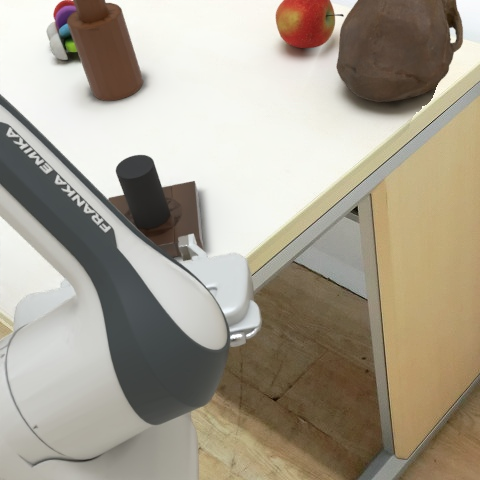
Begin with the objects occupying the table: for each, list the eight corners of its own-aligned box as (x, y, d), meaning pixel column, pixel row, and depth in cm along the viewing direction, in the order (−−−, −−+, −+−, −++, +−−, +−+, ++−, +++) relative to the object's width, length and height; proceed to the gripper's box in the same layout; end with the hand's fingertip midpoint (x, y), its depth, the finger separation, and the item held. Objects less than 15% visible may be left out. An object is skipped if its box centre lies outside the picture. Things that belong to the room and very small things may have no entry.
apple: (288, 23, 117) (351, 9, 114) (285, 65, 113) (351, 51, 110) (268, -16, 110) (335, -32, 107) (264, 27, 106) (334, 11, 103)
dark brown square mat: (111, 269, 82) (105, 256, 81) (113, 210, 90) (108, 197, 88) (203, 251, 83) (199, 237, 82) (198, 193, 90) (194, 180, 89)
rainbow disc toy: (103, 27, 124) (89, -16, 120) (113, 53, 118) (98, 9, 113) (51, 41, 123) (34, -2, 118) (57, 69, 116) (40, 25, 111)
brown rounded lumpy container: (507, 74, 102) (506, -15, 91) (379, 141, 98) (364, 56, 88) (427, 12, 113) (419, -73, 103) (311, 70, 110) (291, -12, 100)
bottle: (91, 104, 107) (54, 4, 97) (94, 78, 113) (59, -20, 103) (143, 95, 108) (111, -7, 98) (143, 69, 113) (113, -30, 103)
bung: (139, 245, 85) (115, 181, 79) (139, 222, 88) (115, 158, 82) (175, 238, 85) (154, 174, 79) (173, 215, 88) (153, 151, 82)
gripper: (258, 312, 60) (241, 202, 70) (-5, 367, 59) (16, 247, 69) (271, 363, 64) (253, 252, 75) (26, 414, 63) (41, 295, 74)
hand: (137, 250), depth 72 cm, fingers open, 8 cm apart
